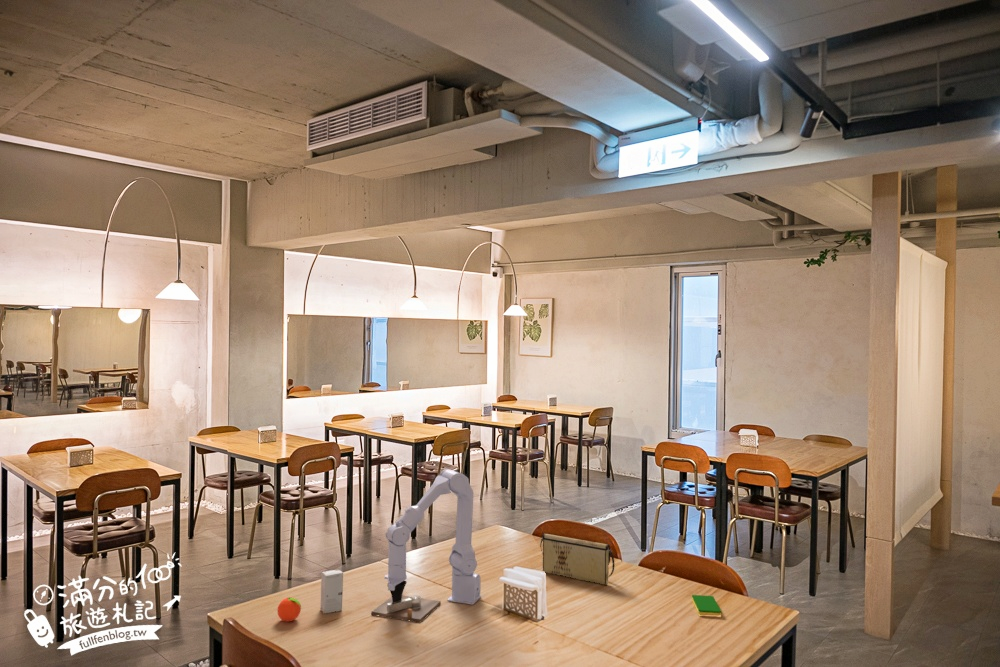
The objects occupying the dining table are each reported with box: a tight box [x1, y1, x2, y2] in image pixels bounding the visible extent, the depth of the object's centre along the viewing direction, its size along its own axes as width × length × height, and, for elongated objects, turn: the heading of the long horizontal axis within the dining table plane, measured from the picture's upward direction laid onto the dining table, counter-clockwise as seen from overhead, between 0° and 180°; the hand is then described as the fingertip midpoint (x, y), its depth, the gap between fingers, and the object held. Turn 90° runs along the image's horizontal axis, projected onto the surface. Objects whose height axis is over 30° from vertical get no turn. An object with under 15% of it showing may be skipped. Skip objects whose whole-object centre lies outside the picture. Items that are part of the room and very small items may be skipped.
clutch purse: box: [539, 533, 615, 586], centre depth 250 cm, size 30×7×15 cm, turn 59°
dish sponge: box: [691, 594, 722, 616], centre depth 222 cm, size 7×14×2 cm, turn 173°
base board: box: [370, 594, 441, 623], centre depth 217 cm, size 17×16×3 cm
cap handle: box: [387, 595, 422, 613], centre depth 214 cm, size 12×4×2 cm, turn 129°
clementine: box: [277, 596, 302, 622], centre depth 206 cm, size 8×7×7 cm
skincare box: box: [319, 569, 344, 614], centre depth 215 cm, size 6×4×12 cm
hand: (396, 604), depth 215 cm, fingers closed, pressing on cap handle
